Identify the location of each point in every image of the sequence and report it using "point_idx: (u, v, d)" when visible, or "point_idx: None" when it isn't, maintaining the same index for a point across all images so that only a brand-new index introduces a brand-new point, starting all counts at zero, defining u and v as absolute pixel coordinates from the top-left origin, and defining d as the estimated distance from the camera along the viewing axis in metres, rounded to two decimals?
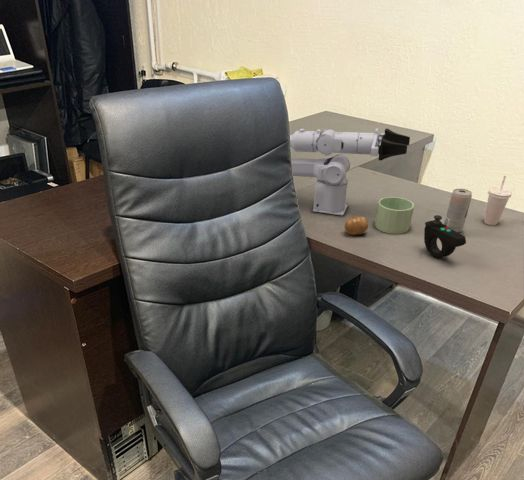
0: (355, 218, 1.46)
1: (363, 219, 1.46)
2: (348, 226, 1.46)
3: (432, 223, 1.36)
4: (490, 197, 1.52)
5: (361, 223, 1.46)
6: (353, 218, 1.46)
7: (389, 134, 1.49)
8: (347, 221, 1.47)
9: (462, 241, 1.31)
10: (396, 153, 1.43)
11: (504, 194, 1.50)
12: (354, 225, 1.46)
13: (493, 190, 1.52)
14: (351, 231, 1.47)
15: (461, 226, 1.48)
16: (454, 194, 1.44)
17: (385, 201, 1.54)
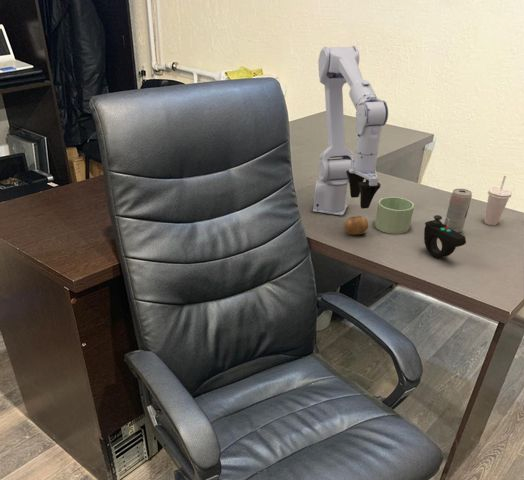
0: (355, 218, 1.46)
1: (363, 219, 1.46)
2: (348, 226, 1.46)
3: (432, 223, 1.36)
4: (490, 197, 1.52)
5: (361, 223, 1.46)
6: (353, 218, 1.46)
7: None
8: (347, 221, 1.47)
9: (462, 241, 1.31)
10: None
11: (504, 194, 1.50)
12: (354, 225, 1.46)
13: (493, 190, 1.52)
14: (351, 231, 1.47)
15: (461, 226, 1.48)
16: (454, 194, 1.44)
17: (385, 201, 1.54)
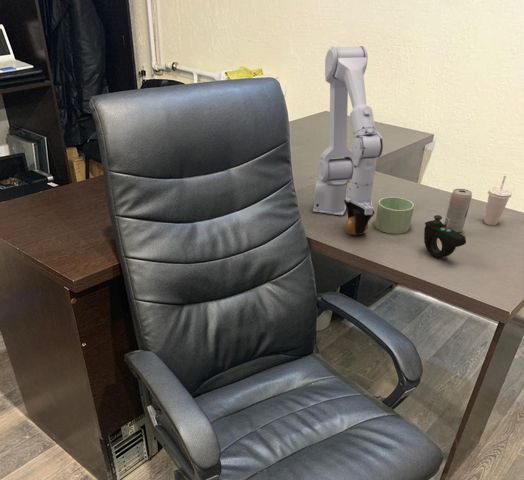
0: None
1: None
2: (348, 226, 1.46)
3: (432, 223, 1.36)
4: (490, 197, 1.52)
5: None
6: (353, 218, 1.46)
7: None
8: (347, 221, 1.47)
9: (462, 241, 1.31)
10: None
11: (504, 194, 1.50)
12: (354, 225, 1.46)
13: (493, 190, 1.52)
14: (351, 231, 1.47)
15: (461, 226, 1.48)
16: (454, 194, 1.44)
17: (385, 201, 1.54)
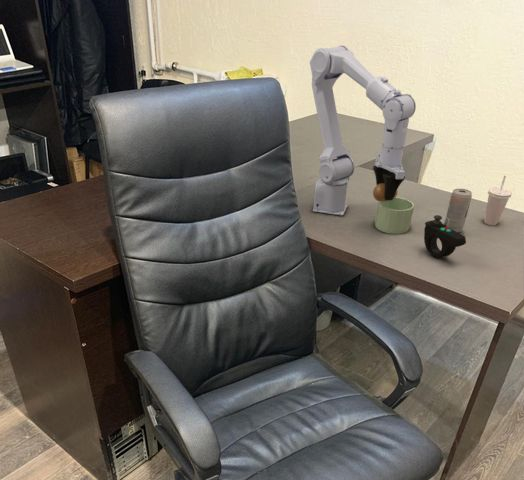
0: (384, 184, 1.44)
1: None
2: (377, 193, 1.44)
3: (432, 223, 1.36)
4: (490, 197, 1.52)
5: None
6: (382, 184, 1.44)
7: None
8: (376, 187, 1.44)
9: (462, 241, 1.31)
10: None
11: (504, 194, 1.50)
12: (383, 191, 1.43)
13: (493, 190, 1.52)
14: (380, 198, 1.44)
15: (461, 226, 1.48)
16: (454, 194, 1.44)
17: None
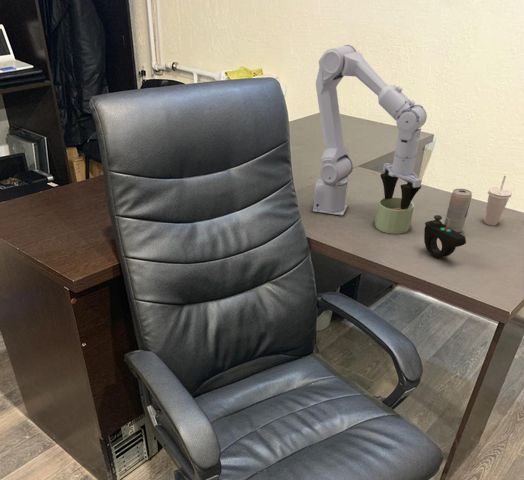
0: None
1: None
2: None
3: (432, 223, 1.36)
4: (490, 197, 1.52)
5: None
6: None
7: None
8: None
9: (462, 241, 1.31)
10: None
11: (504, 194, 1.50)
12: None
13: (493, 190, 1.52)
14: None
15: (461, 226, 1.48)
16: (454, 194, 1.44)
17: (385, 201, 1.54)
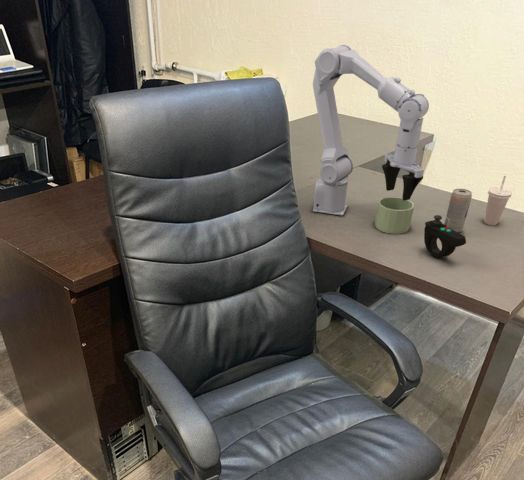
0: None
1: None
2: None
3: (432, 223, 1.36)
4: (490, 197, 1.52)
5: None
6: None
7: None
8: None
9: (462, 241, 1.31)
10: None
11: (504, 194, 1.50)
12: None
13: (493, 190, 1.52)
14: None
15: (461, 226, 1.48)
16: (454, 194, 1.44)
17: (385, 201, 1.54)
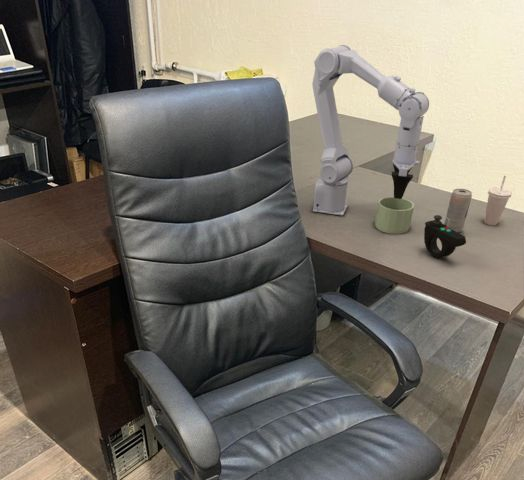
0: None
1: None
2: None
3: (432, 223, 1.36)
4: (490, 197, 1.52)
5: None
6: None
7: (407, 169, 1.47)
8: None
9: (462, 241, 1.31)
10: (395, 189, 1.43)
11: (504, 194, 1.50)
12: None
13: (493, 190, 1.52)
14: None
15: (461, 226, 1.48)
16: (454, 194, 1.44)
17: (385, 201, 1.54)
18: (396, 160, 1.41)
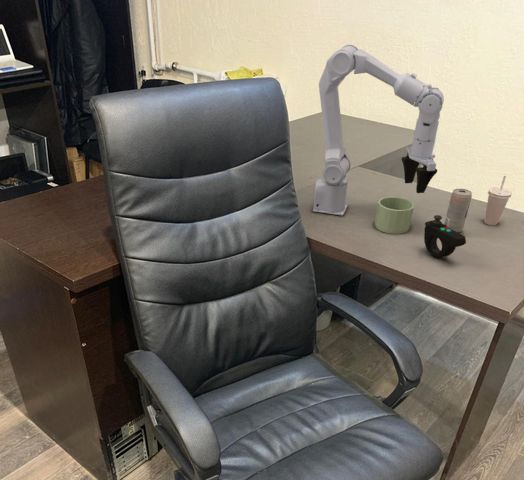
0: None
1: None
2: None
3: (432, 223, 1.36)
4: (490, 197, 1.52)
5: None
6: None
7: (417, 163, 1.50)
8: None
9: (462, 241, 1.31)
10: (419, 184, 1.45)
11: (504, 194, 1.50)
12: None
13: (493, 190, 1.52)
14: None
15: (461, 226, 1.48)
16: (454, 194, 1.44)
17: (385, 201, 1.54)
18: (417, 156, 1.43)
